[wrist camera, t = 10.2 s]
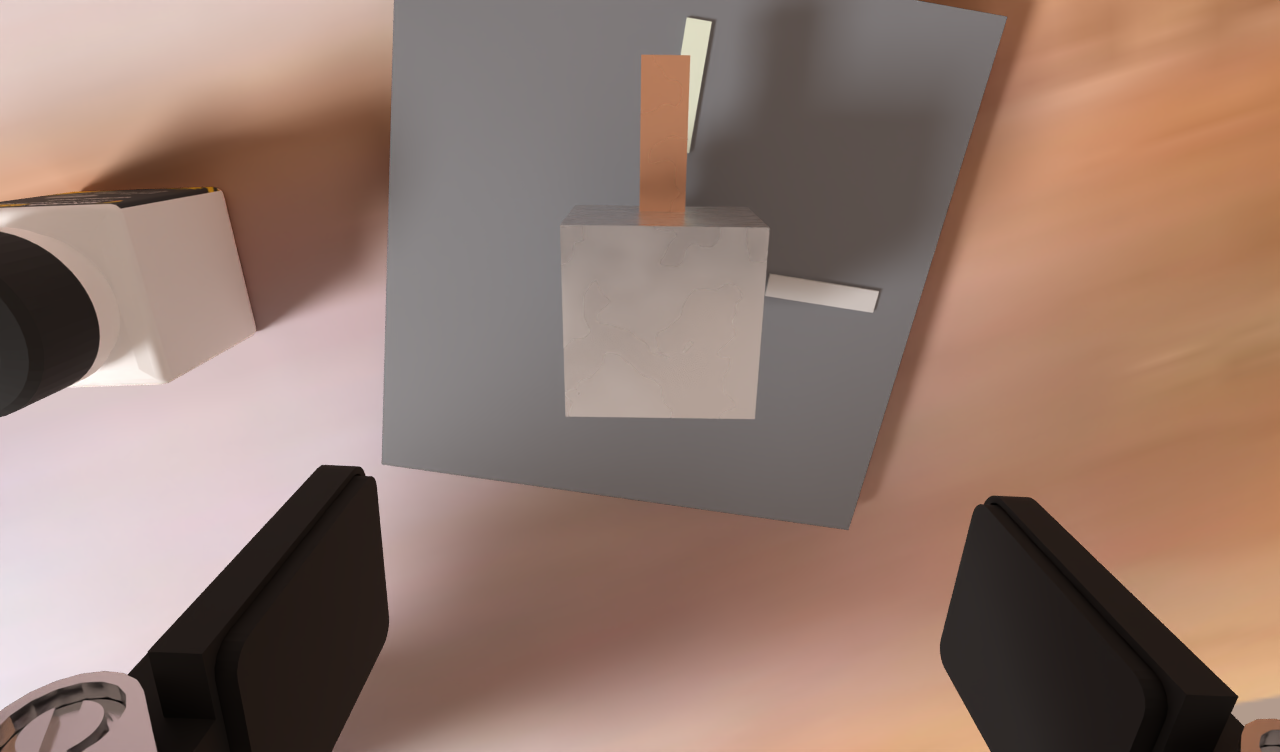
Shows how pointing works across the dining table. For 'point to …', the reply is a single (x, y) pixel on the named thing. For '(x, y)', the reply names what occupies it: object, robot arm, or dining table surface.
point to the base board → (715, 176)
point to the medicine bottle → (115, 289)
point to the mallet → (662, 284)
